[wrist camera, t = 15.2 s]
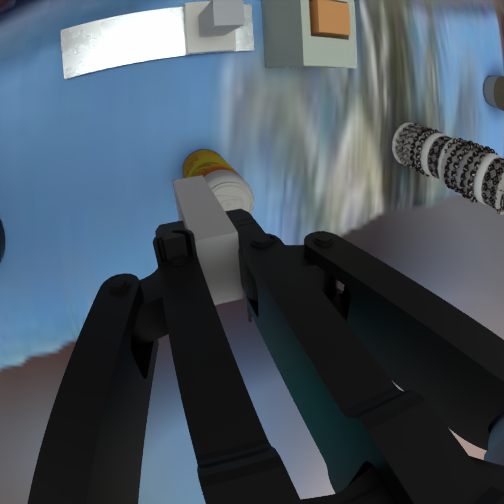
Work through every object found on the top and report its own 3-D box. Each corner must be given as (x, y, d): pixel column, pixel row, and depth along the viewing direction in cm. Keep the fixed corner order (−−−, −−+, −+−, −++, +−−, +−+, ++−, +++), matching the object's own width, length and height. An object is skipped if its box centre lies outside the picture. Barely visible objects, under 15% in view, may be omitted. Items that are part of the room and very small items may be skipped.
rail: (67, 79, 33) (64, 79, 31) (63, 31, 29) (60, 30, 28) (250, 51, 38) (254, 50, 37) (248, 6, 35) (251, 4, 34)
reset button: (298, 35, 32) (319, 31, 28) (297, 6, 30) (317, -2, 26) (327, 37, 33) (350, 35, 29) (326, 9, 31) (348, 3, 27)
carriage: (186, 54, 35) (200, 45, 26) (183, 6, 31) (196, -18, 22) (232, 51, 36) (260, 42, 27) (229, 3, 33) (256, -18, 24)
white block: (265, 67, 40) (303, 65, 30) (260, -11, 34) (297, -35, 24) (309, 67, 42) (356, 68, 32) (306, -8, 35) (351, -25, 26)
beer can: (183, 147, 43) (201, 178, 30) (225, 149, 45) (260, 179, 32) (180, 189, 46) (197, 235, 33) (221, 189, 48) (253, 233, 35)
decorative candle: (403, 110, 50) (520, 150, 29) (429, 135, 54) (534, 180, 34) (382, 152, 53) (495, 207, 32) (410, 173, 57) (511, 230, 37)
